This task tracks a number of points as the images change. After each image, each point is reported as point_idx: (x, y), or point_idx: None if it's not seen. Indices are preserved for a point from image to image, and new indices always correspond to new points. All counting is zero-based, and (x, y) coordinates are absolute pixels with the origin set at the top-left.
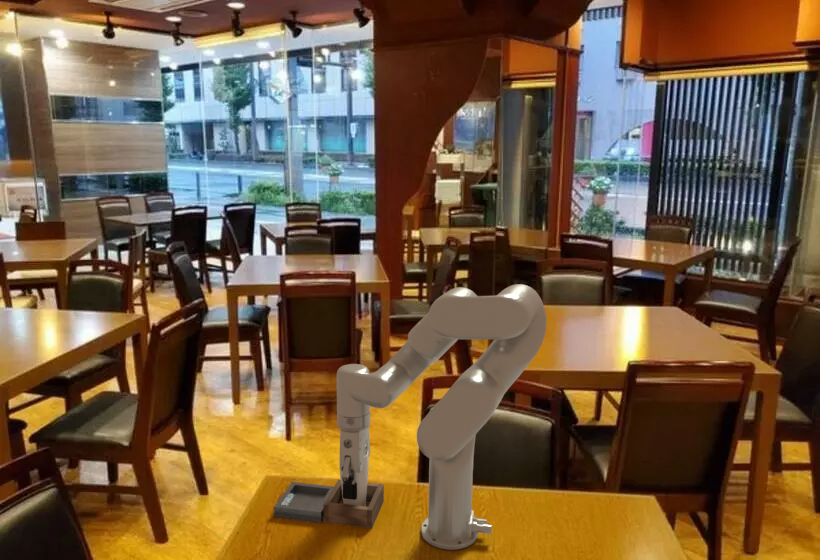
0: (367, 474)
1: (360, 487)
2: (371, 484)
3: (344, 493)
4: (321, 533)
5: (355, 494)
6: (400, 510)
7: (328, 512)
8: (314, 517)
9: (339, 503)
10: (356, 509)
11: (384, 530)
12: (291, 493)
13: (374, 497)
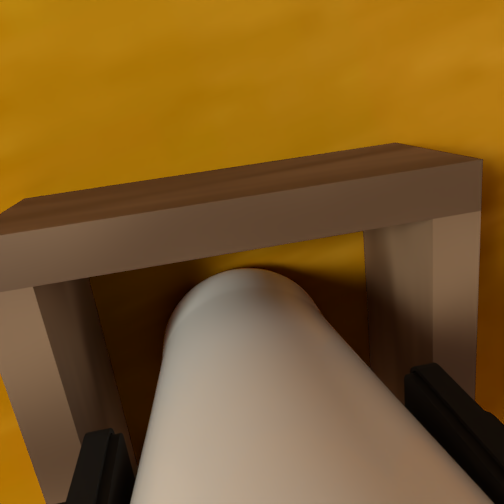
0: (345, 487)
1: (403, 412)
2: (27, 360)
3: None
4: (497, 397)
5: (461, 398)
6: (88, 5)
7: None
8: None
9: None
10: (472, 300)
11: (395, 44)
12: None
13: (258, 229)
